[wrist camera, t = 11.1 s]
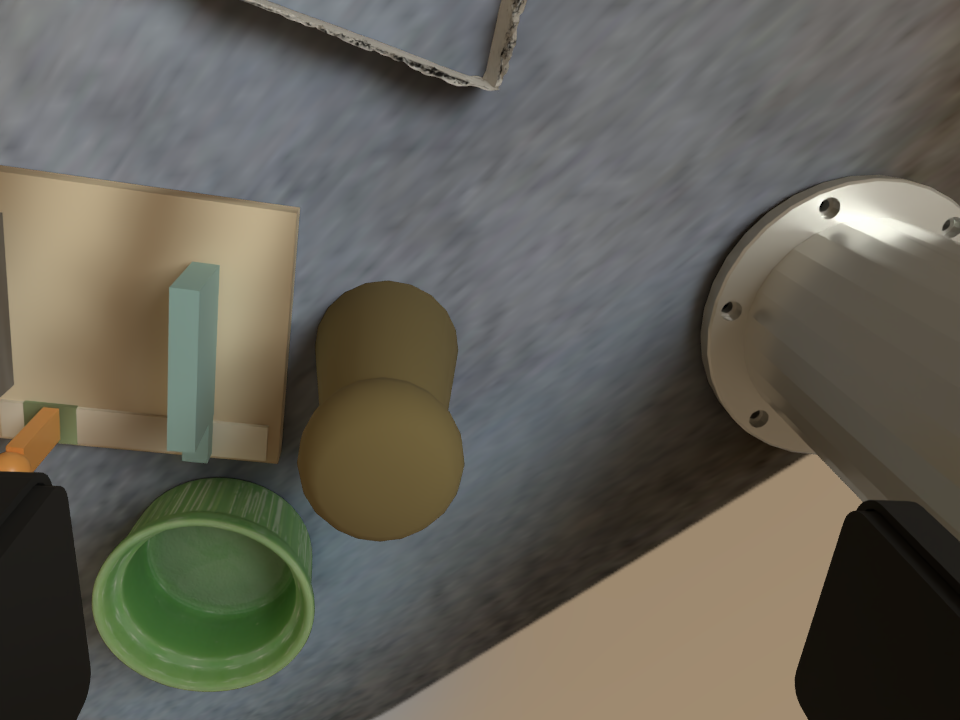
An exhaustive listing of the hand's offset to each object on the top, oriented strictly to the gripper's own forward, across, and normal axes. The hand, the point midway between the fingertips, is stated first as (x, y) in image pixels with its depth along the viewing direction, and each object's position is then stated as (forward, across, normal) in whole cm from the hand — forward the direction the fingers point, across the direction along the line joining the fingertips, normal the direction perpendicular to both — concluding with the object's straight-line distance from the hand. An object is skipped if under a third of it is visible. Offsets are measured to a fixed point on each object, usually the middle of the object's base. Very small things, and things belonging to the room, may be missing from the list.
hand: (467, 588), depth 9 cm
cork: (+24, +1, +6) cm, 24 cm away
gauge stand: (+23, +11, +6) cm, 26 cm away
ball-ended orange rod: (+22, +15, +10) cm, 28 cm away
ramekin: (+24, +8, +17) cm, 30 cm away
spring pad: (+22, +9, +7) cm, 24 cm away
